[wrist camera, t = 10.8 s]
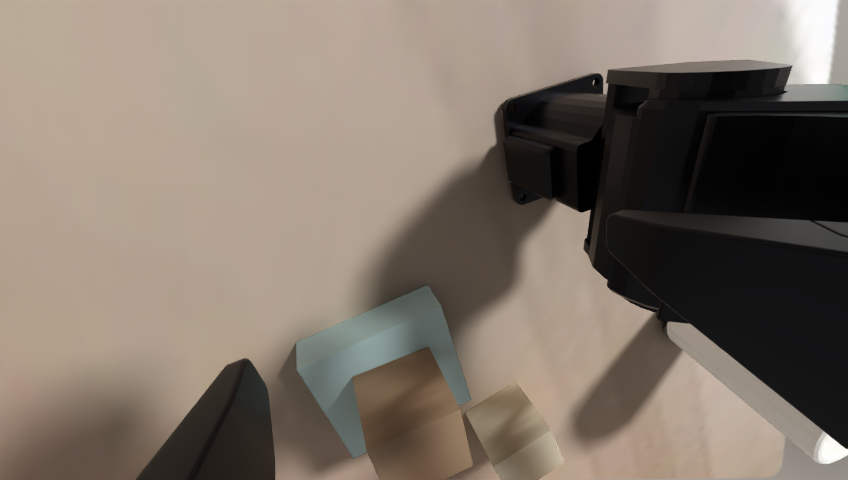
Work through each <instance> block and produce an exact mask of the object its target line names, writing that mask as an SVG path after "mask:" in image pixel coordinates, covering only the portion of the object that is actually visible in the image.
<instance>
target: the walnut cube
mask: <svg viewBox="0 0 848 480" xmlns="http://www.w3.org/2000/svg"><path fill="white" fill-rule="evenodd" d="M352 381H353V385H354V390H355V395H356V400H357V405H358V410H359V415H360V420H361V425H362V430H363V435H364V440H365V445H366V449H367V452H368V455H369V457H370V459H371V461H372V464H373V466H374V468H375V470H376V473H377V475H378V477H379V479H380V480H444V479H446V478H448V477H451V476H453V475H455V474H457V473H459V472H461V471H463V470H465V469H467V468H469V467H471V466H473V462H472V458H471V454H470V449H469V445H468V440H467V436H466V432H465V427H464V423H463V418H462V414H461V410H460V407H459V405H458V403H457V401H456V399H455V398H454V396H453V394H452V392H451V390H450V388H449V386H448V384H447V382H446V380H445V378H444V376H443V374H442V372H441V370H440V368H439V366H438V364H437V362H436V360H435V358H434V356H433V354H432V352H431V350H430V348H429V346H428V347H426V348H423V349H421V350H418V351H416V352H413V353H411V354H408V355H406V356H403V357H401V358H398V359H396V360H393V361H391V362H388V363H386V364H383V365H381V366H378V367H376V368H373V369H371V370H368V371H366V372H363V373H361V374H358V375H356V376H353V377H352Z"/></svg>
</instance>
